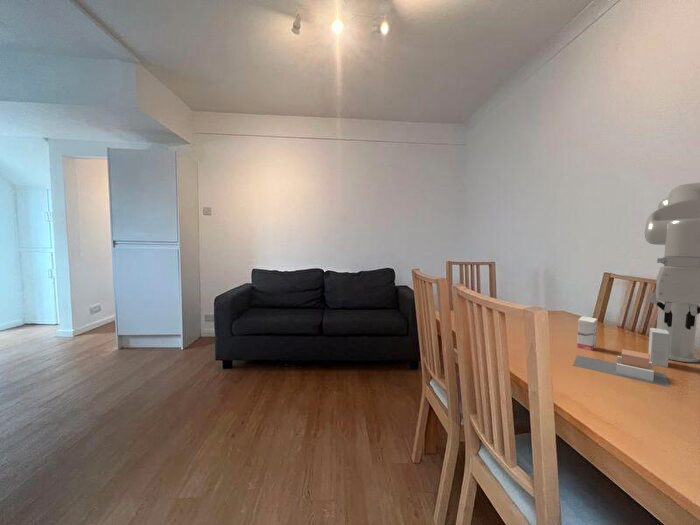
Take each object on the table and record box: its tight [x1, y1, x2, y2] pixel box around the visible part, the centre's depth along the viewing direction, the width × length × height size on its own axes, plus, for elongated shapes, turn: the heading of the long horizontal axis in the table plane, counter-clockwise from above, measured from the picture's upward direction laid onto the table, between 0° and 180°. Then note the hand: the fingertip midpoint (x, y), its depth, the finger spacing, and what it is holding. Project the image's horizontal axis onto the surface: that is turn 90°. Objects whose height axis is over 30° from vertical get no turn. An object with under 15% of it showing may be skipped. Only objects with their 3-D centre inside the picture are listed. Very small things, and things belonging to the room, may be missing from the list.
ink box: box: [576, 315, 599, 351], centre depth 116 cm, size 9×5×12 cm, turn 133°
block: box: [620, 348, 649, 370], centre depth 92 cm, size 6×6×6 cm
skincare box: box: [647, 327, 670, 368], centre depth 100 cm, size 6×4×12 cm
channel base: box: [572, 355, 671, 388], centre depth 95 cm, size 12×22×4 cm, turn 47°
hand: (678, 326), depth 86 cm, fingers open, 3 cm apart
